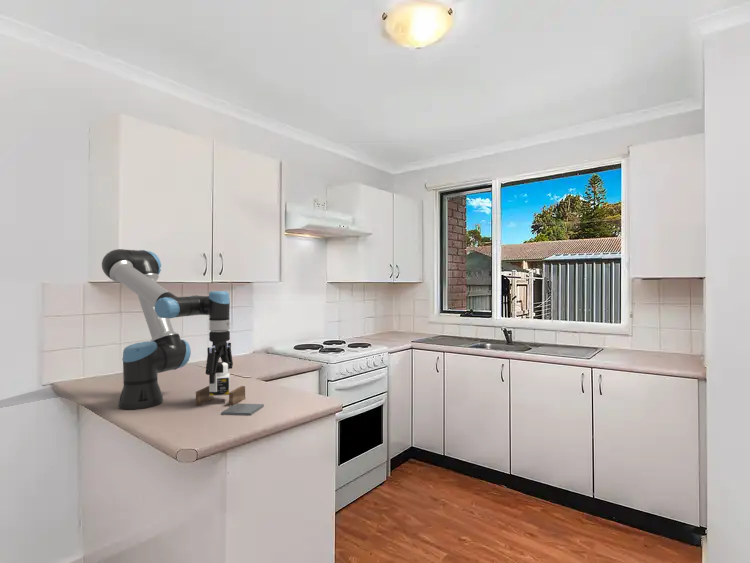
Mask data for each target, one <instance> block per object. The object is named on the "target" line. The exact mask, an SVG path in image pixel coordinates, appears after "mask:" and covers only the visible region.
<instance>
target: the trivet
mask: <svg viewBox="0 0 750 563" xmlns="http://www.w3.org/2000/svg"><path fill="white" fill-rule="evenodd" d="M264 406H265V404H264V403H236V404H234V405H233V406H229V407H228V408H226V409H224V410H222V411H221V412H220V414H221V416H222V415H223V416H224V415H226V416H252V415H254V413H257V412H258V411H259V410H261V409H262V408H264Z"/></svg>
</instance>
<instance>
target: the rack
mask: <svg viewBox="0 0 750 563" xmlns="http://www.w3.org/2000/svg"><path fill="white" fill-rule="evenodd" d="M214 397H215V396H209V385H208V386H205V387H204V388H201V389H199V390H197V391H195V405H196V406H201V405H203V404H205V403H206V402H208V401H210V400H212V399H214ZM244 400H246V386H245V385H241V386H238V387H237V388H235V389H233V390H230V392H229V395H228V406H229V407H231V406H233V405H234V404H236V403H238V404H240V402H243V401H244Z"/></svg>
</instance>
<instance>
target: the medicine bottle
mask: <svg viewBox="0 0 750 563" xmlns="http://www.w3.org/2000/svg"><path fill="white" fill-rule="evenodd" d="M216 374H217V392H209V396H214V397H221V396H229V392H231V373H228V364H227V363H225V362H222V361H221V362H220V361H218V366H217V370H216Z"/></svg>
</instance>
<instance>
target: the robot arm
mask: <svg viewBox="0 0 750 563" xmlns="http://www.w3.org/2000/svg"><path fill="white" fill-rule="evenodd" d="M161 267H162V263H161V260H160V258H159V257H158V255H157V254H156V253H154V252H152V251H149V250H144V249H142V250H141V249H140V250H137V249H136V250H135V249H123V248H122V249H120V248H119V249H112V250H111V251H109V252H107V253H106V254H105V256H104V257H103V258H102V261H101V269H102V271H103V273H104V274H105V276H106V277H108V278H109V279H110V280H112V281H113V282H115V283H120V284H122V285H123V286H124V287H126V288H128V289H129V290H131V292H133V293H135V294H136V295H137V298H138V300H139V303H140V306H141V309H142V312H143V313H142V314H143V315H144V318H145V322H146V324H147V328H148V330H149V333H150V336H151V340H149V341H142V342H136V343H132V344H129V345H127V346H126V347H124V349H123V351H122V358H121V360H122V370H123V371H122V373H123V374H122V375H123V376H122V377H123V378H122V379H123V386H122V390H121V394H120V396H119V399H118V408H119V409H120V410H121V409H122V410H139V409H146V408H152V407H155V406H157V405H160V404H162V403H163V401H164V396H163V393H162V391H161V387H160V384H159V383H158V374H160V373H164V372H168V371H172V370H173V371H174V370H175V371H176V370H178V369H180V368H183V367H184V366H186V364H188V362H189V361H190V357H191V347H190V344H189V342H187V341H186V340H185V339H181V337H180V334H179V333H178V332H175V330H174V328H173V326H172V323H171V319H174V318H182V317H191V316H208V318H209V319H208V320H209V322H208V323H209V324H208V330H209V333H208V335H209V342H211V343H212V345H211V347H210V346H209V347H207V357H206V364H205V375H207V376H209V380H208V382H209V384H208V386H209V392H217V374H216V370H217V366H218V362H220V359H221V362H225V363H227V364H228V373H230V372H231V369H232V370H233V365H234V362H233V355H232V348H231V347H232V342H229V341H230V340H231V337H230V336H231V332H230V325H231V322H230V302H231V300H230V293H229V291H227V290H212V291H210V292H208V296H206V295H189V296H176V295H175V294H173V293H172V292H170V291H169V290H167V289H166V288H164V287H163V286H161V285H160V284H158V279H159V277H160V276H159V275H160V274H161V271H162V269H161ZM230 374H231V373H230Z"/></svg>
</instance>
